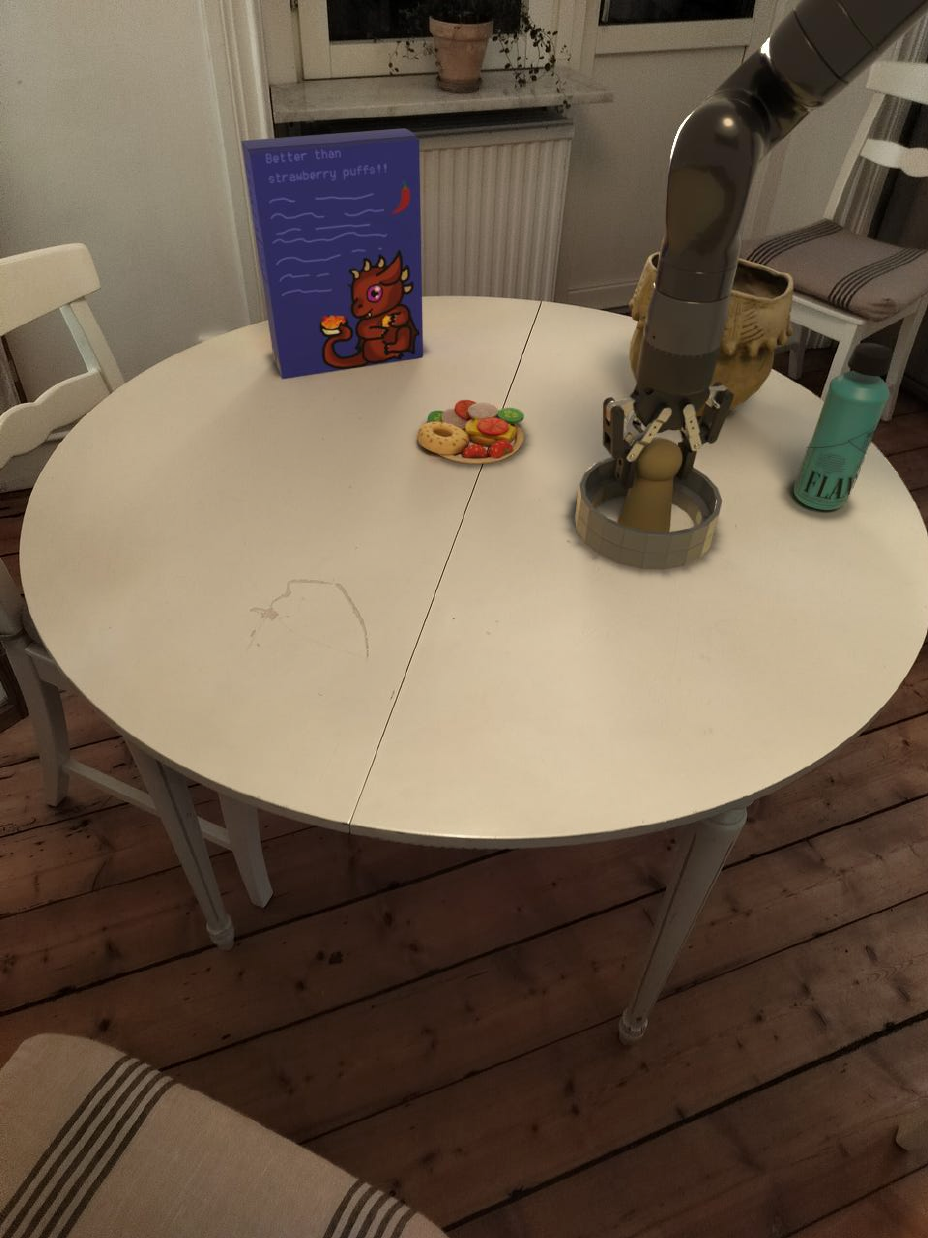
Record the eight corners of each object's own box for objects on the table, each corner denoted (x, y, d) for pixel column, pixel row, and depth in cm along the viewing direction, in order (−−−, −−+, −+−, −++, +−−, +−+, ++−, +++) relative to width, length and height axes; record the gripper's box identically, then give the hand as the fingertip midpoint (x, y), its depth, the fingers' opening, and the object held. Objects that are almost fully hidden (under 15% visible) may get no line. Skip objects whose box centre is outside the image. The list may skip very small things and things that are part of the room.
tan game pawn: (677, 522, 97) (697, 439, 89) (658, 549, 93) (677, 466, 85) (628, 506, 99) (644, 424, 91) (608, 532, 95) (623, 449, 88)
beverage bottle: (786, 514, 99) (841, 357, 86) (789, 485, 104) (842, 331, 90) (843, 526, 98) (909, 367, 84) (844, 495, 102) (906, 340, 89)
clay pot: (681, 358, 129) (709, 222, 115) (796, 415, 117) (843, 271, 103) (583, 397, 119) (601, 254, 105) (697, 463, 107) (734, 312, 93)
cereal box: (411, 340, 132) (405, 126, 111) (423, 357, 128) (419, 137, 107) (274, 361, 126) (240, 138, 105) (282, 378, 122) (249, 150, 101)
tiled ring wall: (732, 525, 98) (744, 486, 94) (671, 594, 89) (681, 553, 85) (617, 478, 104) (623, 439, 101) (548, 537, 95) (553, 497, 92)
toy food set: (408, 459, 107) (407, 437, 104) (440, 410, 116) (440, 388, 114) (508, 477, 104) (509, 455, 102) (533, 426, 113) (535, 404, 111)
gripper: (631, 360, 76) (606, 510, 87) (768, 342, 79) (727, 489, 91) (598, 326, 81) (578, 472, 93) (728, 310, 84) (693, 453, 96)
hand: (652, 479), depth 92 cm, fingers open, 6 cm apart
